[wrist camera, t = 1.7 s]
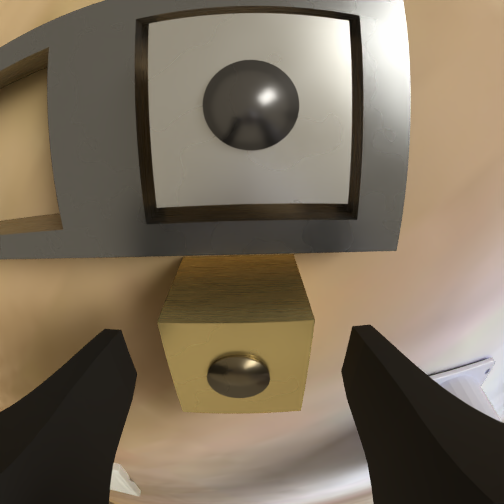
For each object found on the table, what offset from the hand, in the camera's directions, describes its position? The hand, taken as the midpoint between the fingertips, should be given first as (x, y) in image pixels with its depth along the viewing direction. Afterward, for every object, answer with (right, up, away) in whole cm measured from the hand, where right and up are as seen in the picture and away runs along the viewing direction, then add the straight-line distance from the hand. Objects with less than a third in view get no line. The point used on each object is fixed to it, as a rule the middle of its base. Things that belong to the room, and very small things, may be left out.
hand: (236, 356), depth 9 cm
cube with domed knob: (0, +8, 0) cm, 8 cm away
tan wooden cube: (0, +1, +3) cm, 3 cm away
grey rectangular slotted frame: (-4, +8, 0) cm, 9 cm away
